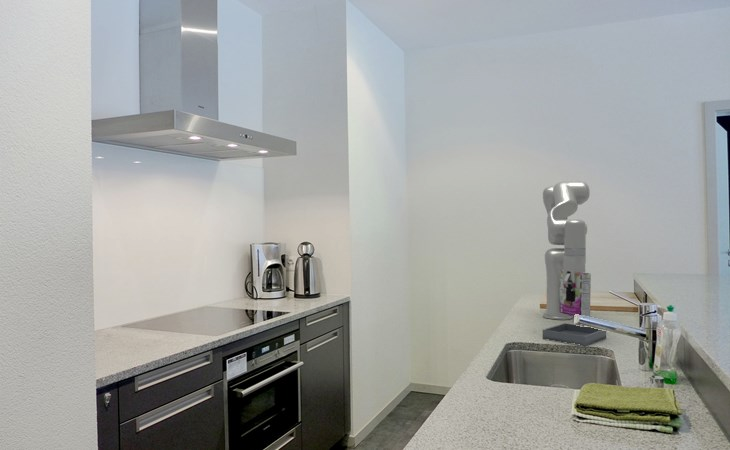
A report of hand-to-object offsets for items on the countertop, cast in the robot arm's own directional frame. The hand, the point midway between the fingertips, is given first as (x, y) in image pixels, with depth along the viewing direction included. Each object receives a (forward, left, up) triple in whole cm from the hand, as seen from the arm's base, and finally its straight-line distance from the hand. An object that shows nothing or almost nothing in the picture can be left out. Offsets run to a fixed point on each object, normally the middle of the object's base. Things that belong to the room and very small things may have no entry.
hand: (574, 300), depth 208 cm
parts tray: (0, 0, -15) cm, 15 cm away
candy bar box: (0, 0, -6) cm, 6 cm away
